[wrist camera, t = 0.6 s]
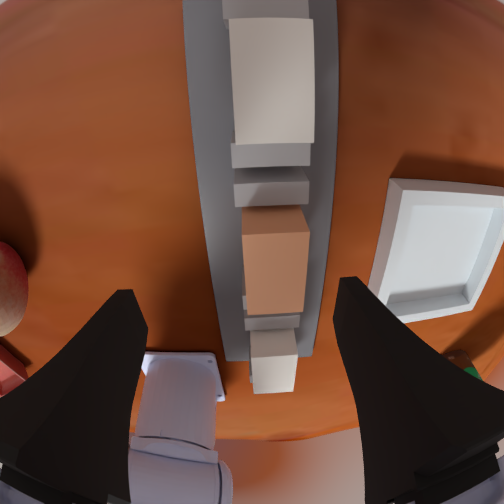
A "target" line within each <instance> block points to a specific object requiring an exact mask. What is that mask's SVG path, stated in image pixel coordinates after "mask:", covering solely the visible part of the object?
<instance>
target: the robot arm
mask: <svg viewBox="0 0 504 504" xmlns="http://www.w3.org/2000/svg"><path fill="white" fill-rule="evenodd" d="M333 323H334V329H335V334H336V339H337V344H338V347H339V350H340V354H341V357H342V360H343V363H344V366H345V369H346V373H347V376H348V379H349V382H350V385H351V389H352V392H353V395H354V399H355V403H356V408H357V414H358V420H359V426H360V433H361V441H362V450H363V461H364V476H365V504H393V503H395V504H504V455H503V456H502V457H500V458H498V459H496V455H495V453H497V452H498V451H499V447H498V444H497V442H498V441H500V440H501V439H503V438H504V391H503V390H500V389H498V388H496V387H493V386H491V385H489V384H487V383H485V382H484V381H482V380H480V379H478V378H476V377H474V376H473V375H471V374H469V373H468V372H466V371H464V370H463V369H461V368H460V367H458V366H457V365H455V364H454V363H452V362H451V361H449V360H448V359H446V358H445V357H444V356H442V355H441V354H439V353H438V352H437V351H436V350H434V349H433V348H432V347H430V346H429V345H428V344H427V343H425V342H424V341H423V340H422V339H420V338H419V337H418V336H417V335H416V334H415V333H414V332H413V331H411V330H410V329H409V328H408V327H407V326H406V325H405V324H404V323H403V322H402V321H400V320H399V319H398V318H397V317H396V316H395V315H394V314H393V313H392V312H391V311H390V310H389V309H388V308H387V307H386V306H385V305H384V304H383V303H382V302H381V301H380V300H379V299H378V298H377V297H376V296H375V295H374V294H373V293H372V292H371V290H370V289H369V288H368V287H367V286H366V285H365V284H364V283H363V282H362V281H361V280H360V279H359V278H358V277H357V276H354V277H343V278H340V281H339V287H338V293H337V298H336V304H335V310H334V315H333ZM147 334H148V327H147V324H146V322H145V319H144V317H143V315H142V312H141V310H140V307H139V305H138V302H137V300H136V297H135V295H134V292H133V289H125V290H117V291H116V292H115V293H114V294H113V295H112V296H111V297H110V298H109V299H108V300H107V301H106V302H105V303H104V304H103V305H102V307H101V308H100V309H99V310H98V311H97V312H96V313H95V314H94V315H93V316H92V318H91V319H90V320H89V321H88V322H87V323H86V324H85V325H84V326H83V327H82V329H81V330H80V331H79V332H78V333H77V334H76V335H75V336H74V337H73V338H72V339H71V340H70V341H69V342H68V343H67V344H66V345H65V346H64V347H63V348H62V349H61V350H60V351H59V352H58V353H57V354H56V355H55V356H54V357H53V358H52V359H51V360H50V361H49V362H48V363H46V364H45V365H44V366H43V367H42V368H41V369H40V370H38V371H37V372H36V373H34V374H33V375H32V376H31V377H29V378H28V379H27V380H26V381H24V382H23V383H22V384H20V385H19V386H18V387H16V388H15V389H13V390H12V391H10V392H9V393H7V394H6V395H4V396H2V397H1V398H0V462H1V463H2V464H3V465H2V469H1V468H0V504H107V503H108V504H232V497H233V481H232V474H231V471H230V469H229V467H228V466H227V465H226V464H225V462H224V461H222V460H218V452H217V451H213V448H214V444H215V427H216V402H217V401H224V400H225V394H224V390H223V386H222V382H221V378H220V374H219V370H218V366H217V361H216V357H215V355H214V354H213V353H210V352H205V353H185V352H145V350H146V343H147ZM141 368H142V370H143V372H144V373H145V375H146V378H145V383H144V388H143V393H142V398H141V403H140V408H139V413H138V418H137V424H136V429H135V435H134V436H132V439H131V444H129V443H128V442H129V428H130V417H131V410H132V404H133V400H134V396H135V391H136V387H137V383H138V379H139V375H140V371H141Z"/></svg>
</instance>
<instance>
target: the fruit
mask: <svg viewBox="0 0 504 504" xmlns="http://www.w3.org/2000/svg"><path fill="white" fill-rule="evenodd" d="M27 301H28V277H27V273H26V270H25V267H24V264H23V262H22V260H21V258H20V256H19V255H18V253H17V252H16V251H15V250H14V249H13V248H12V247H11V246H9V245H8V244H7V243H4V242H1V241H0V337H1V336H4V335H6V334H8V333H9V332H11V331H12V330H13V329H14V328H15V327H16V326H17V325H18V324H19V323H20V321H21V320H22V318H23V315H24V313H25V309H26V306H27Z"/></svg>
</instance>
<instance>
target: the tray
mask: <svg viewBox="0 0 504 504" xmlns="http://www.w3.org/2000/svg"><path fill="white" fill-rule="evenodd" d="M503 240H504V188H503V187H498V186H490V185H481V184H471V183H461V182H449V181H436V180H422V179H403V178H389V183H388V190H387V196H386V202H385V208H384V214H383V219H382V225H381V230H380V235H379V240H378V244H377V249H376V254H375V258H374V263H373V267H372V271H371V275H370V279H369V283H368V288H369V289H370V290H371V292H372V293H373V294H374V295H375V296H376V297H377V298H378V299H379V300H380V301H381V302H382V303H383V304H384V305H385V306H386V307H387V308H388V309H389V310H390V311H391V312H392V313H393V314H394V315H395V316H396V317H397V318H398V319H399V320H400V321H402V322H403V323H408V322H414V321H420V320H425V319H431V318H436V317H441V316H446V315H451V314H456V313H461V312H465V311H470V310H472V309H473V307H474V305H475V304H476V302H477V300H478V298H479V296H480V294H481V292H482V290H483V287H484V285H485V283H486V281H487V279H488V277H489V275H490V272H491V270H492V268H493V265H494V263H495V261H496V258H497V256H498V253H499V251H500V248H501V246H502V243H503Z"/></svg>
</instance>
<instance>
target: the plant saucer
mask: <svg viewBox="0 0 504 504" xmlns="http://www.w3.org/2000/svg"><path fill="white" fill-rule="evenodd" d="M27 379H28V375H27V372H26V369H25V366H24V364H23V363H22V362H20V361H19V360H18V359H17V358H16V357H14V356H13V355H12V354H11V353H10V352H9V351H7V350H6V349H5V348H4V347H3V346H2V345H1V344H0V396H4V395H6V394H7V393H9V392H10V391H12V390H13V389H15V388H16V387H18V386H19V385H20V384H22V383H23V382H24V381H26V380H27Z"/></svg>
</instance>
